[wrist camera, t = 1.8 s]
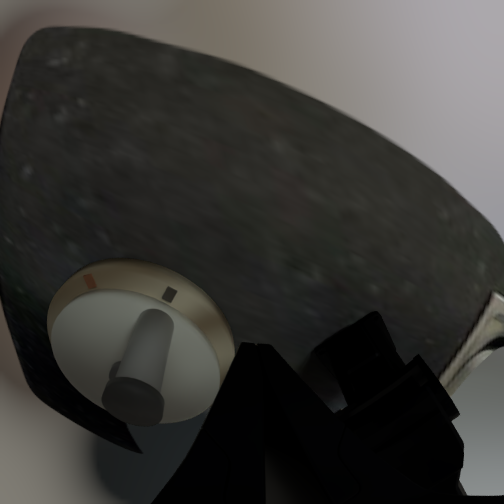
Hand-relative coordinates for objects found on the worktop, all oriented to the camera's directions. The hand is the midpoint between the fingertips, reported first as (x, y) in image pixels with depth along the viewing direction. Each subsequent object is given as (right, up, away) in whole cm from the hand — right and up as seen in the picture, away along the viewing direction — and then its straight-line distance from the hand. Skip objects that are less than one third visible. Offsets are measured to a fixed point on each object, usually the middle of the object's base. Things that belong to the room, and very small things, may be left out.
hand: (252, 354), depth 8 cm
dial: (-9, -6, +12) cm, 17 cm away
